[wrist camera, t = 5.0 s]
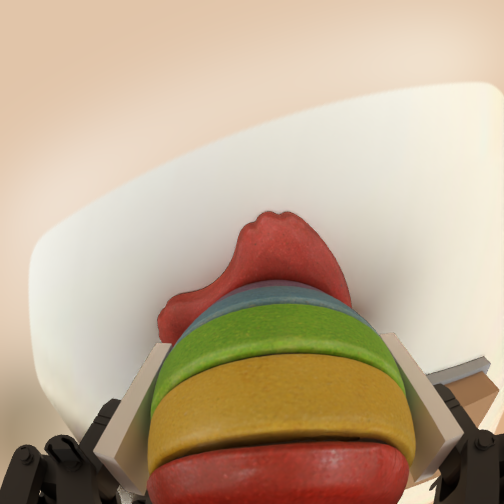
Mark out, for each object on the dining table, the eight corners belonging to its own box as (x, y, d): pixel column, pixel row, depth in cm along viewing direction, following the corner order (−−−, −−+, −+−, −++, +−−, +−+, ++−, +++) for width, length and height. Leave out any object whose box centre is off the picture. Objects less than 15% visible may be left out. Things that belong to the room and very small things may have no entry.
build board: (303, 481, 20) (306, 512, 16) (316, 395, 17) (326, 439, 13) (435, 449, 20) (447, 473, 16) (483, 356, 16) (508, 381, 12)
